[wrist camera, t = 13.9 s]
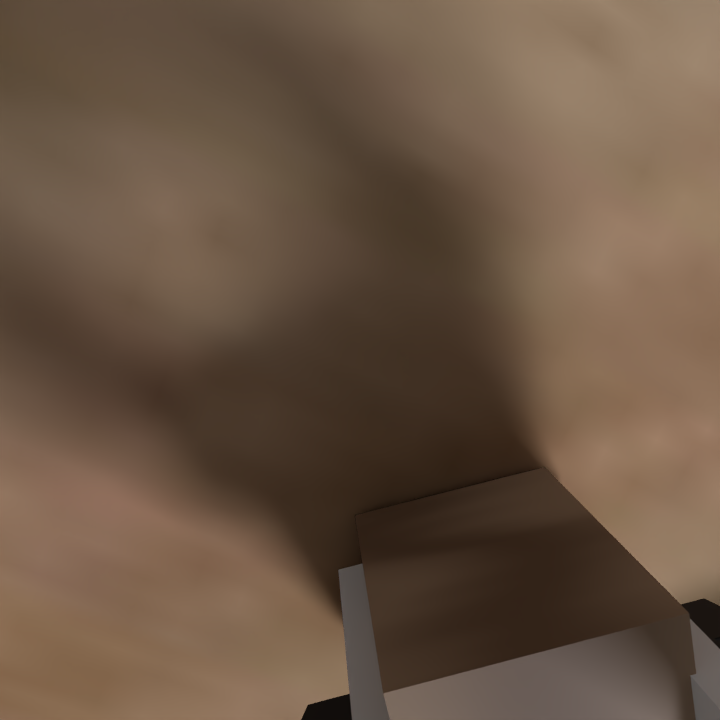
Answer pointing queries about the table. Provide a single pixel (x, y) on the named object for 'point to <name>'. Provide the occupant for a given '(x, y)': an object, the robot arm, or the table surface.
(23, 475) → the table surface
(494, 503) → the block
